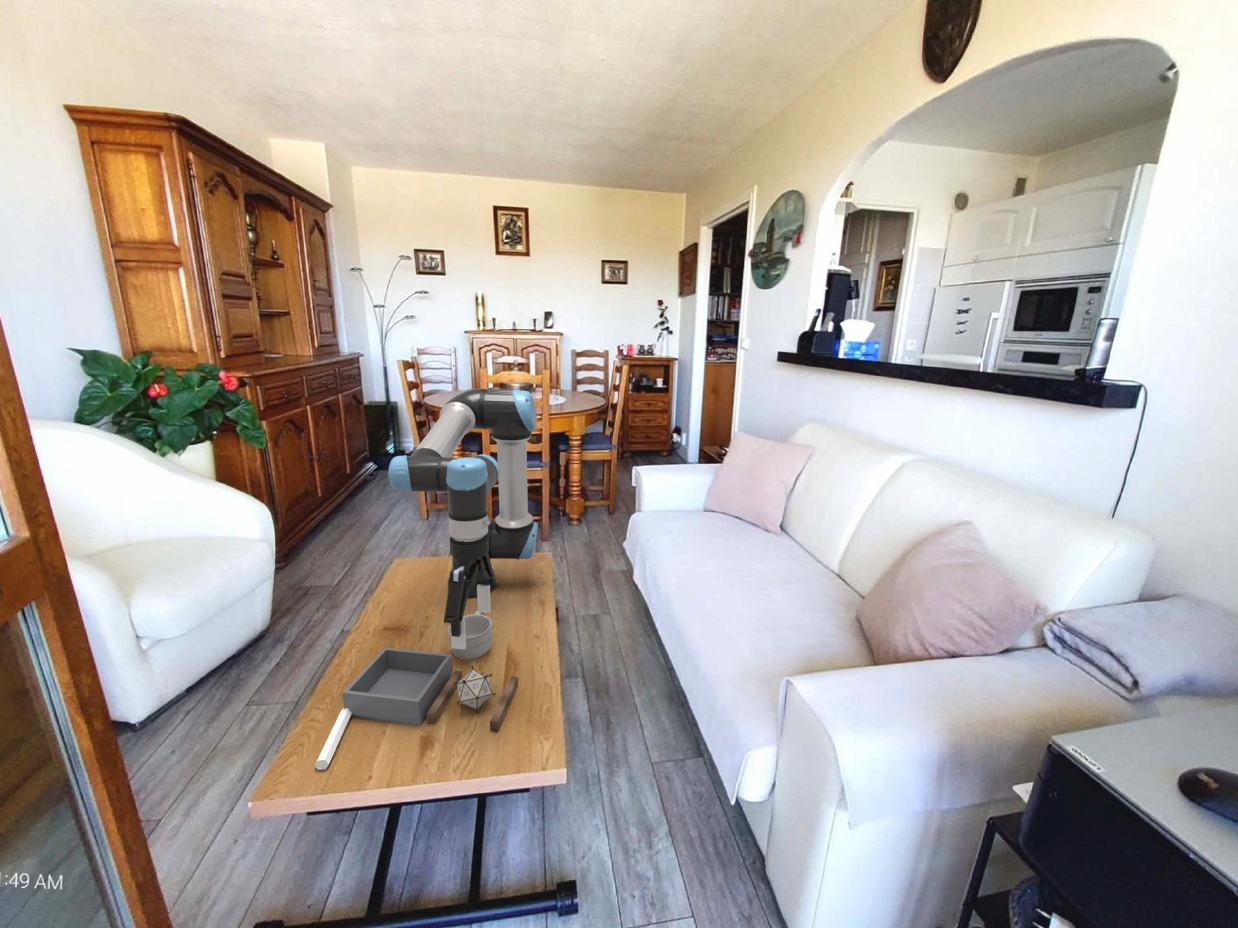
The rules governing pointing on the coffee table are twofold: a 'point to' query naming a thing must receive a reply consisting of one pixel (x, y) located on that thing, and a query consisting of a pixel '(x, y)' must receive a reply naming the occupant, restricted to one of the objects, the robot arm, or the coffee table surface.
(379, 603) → the coffee table surface
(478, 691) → the game die
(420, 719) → the bin
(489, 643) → the teacup
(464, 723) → the coffee table surface
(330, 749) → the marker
